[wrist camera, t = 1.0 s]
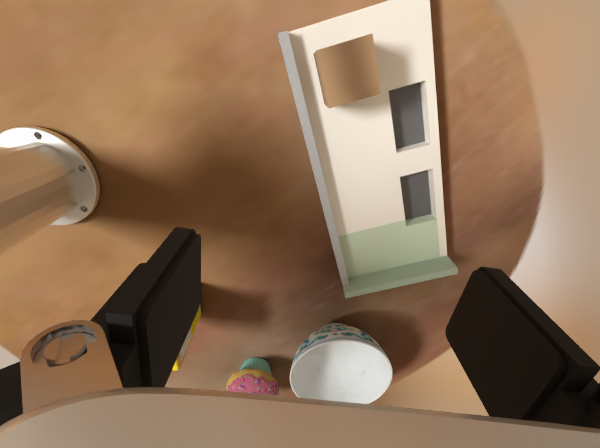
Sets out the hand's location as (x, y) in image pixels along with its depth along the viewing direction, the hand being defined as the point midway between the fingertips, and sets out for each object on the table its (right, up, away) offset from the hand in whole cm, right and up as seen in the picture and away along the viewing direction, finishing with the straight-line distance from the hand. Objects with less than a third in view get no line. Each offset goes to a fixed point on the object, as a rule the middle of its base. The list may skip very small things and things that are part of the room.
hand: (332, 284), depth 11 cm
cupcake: (-9, -23, +44) cm, 51 cm away
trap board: (+8, +10, +28) cm, 31 cm away
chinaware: (+5, -17, +41) cm, 45 cm away
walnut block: (+3, +18, +22) cm, 28 cm away
